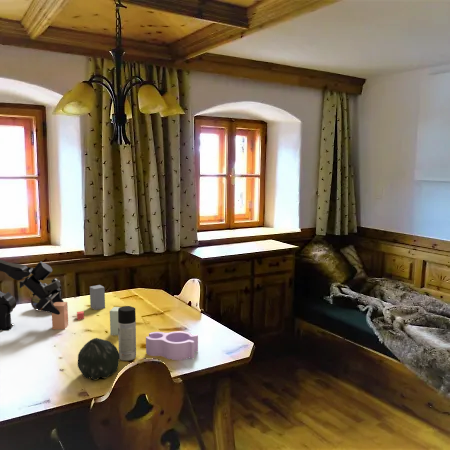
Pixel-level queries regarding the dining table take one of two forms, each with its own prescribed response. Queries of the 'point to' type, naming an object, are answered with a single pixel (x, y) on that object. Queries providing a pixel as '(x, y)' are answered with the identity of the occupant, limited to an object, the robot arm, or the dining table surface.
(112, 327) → the pale grey tall block
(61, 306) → the salmon pink pillar
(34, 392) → the dining table surface
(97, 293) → the tall grey pillar
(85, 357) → the squash
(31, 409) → the dining table surface
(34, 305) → the tin
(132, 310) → the spray can
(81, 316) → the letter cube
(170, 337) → the clip
